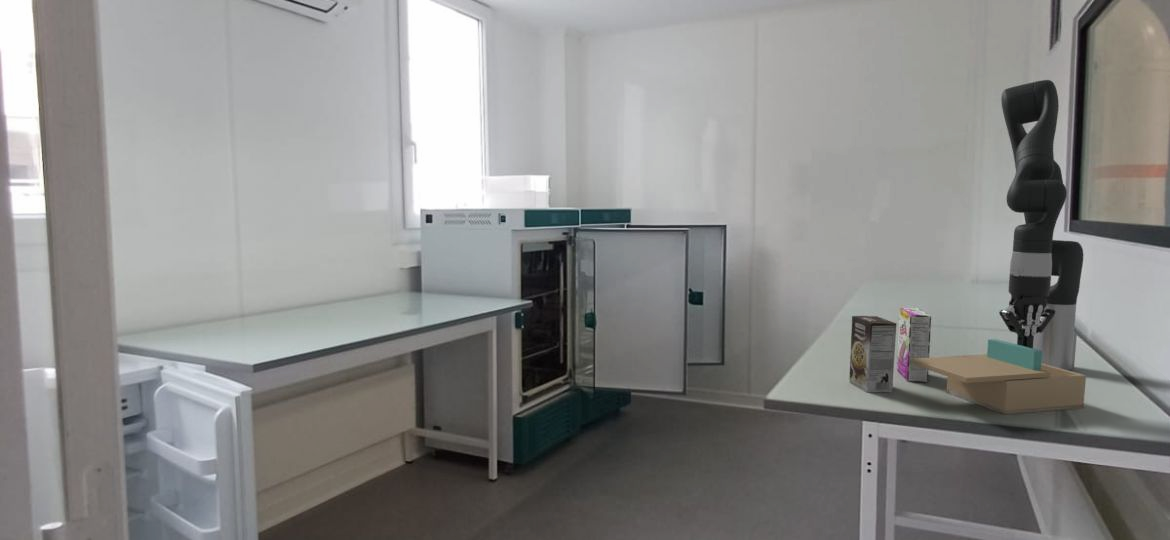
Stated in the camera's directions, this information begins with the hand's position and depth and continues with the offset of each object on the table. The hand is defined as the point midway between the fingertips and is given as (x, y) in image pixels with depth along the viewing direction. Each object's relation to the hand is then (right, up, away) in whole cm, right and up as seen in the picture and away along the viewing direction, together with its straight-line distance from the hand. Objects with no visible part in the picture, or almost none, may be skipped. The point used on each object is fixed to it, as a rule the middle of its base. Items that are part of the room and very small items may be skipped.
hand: (1024, 352), depth 149 cm
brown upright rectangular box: (-29, -10, +11) cm, 33 cm away
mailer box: (-2, -11, +1) cm, 11 cm away
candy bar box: (-15, -9, +20) cm, 27 cm away
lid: (-12, -4, -2) cm, 12 cm away
